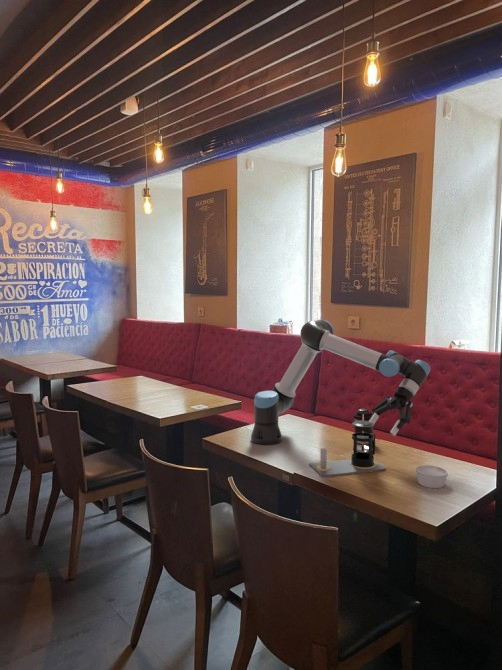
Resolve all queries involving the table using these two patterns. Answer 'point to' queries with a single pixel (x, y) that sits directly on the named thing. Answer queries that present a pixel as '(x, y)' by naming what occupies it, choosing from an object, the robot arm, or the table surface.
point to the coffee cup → (359, 417)
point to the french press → (362, 453)
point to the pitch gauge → (340, 466)
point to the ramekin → (431, 476)
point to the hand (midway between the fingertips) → (380, 430)
